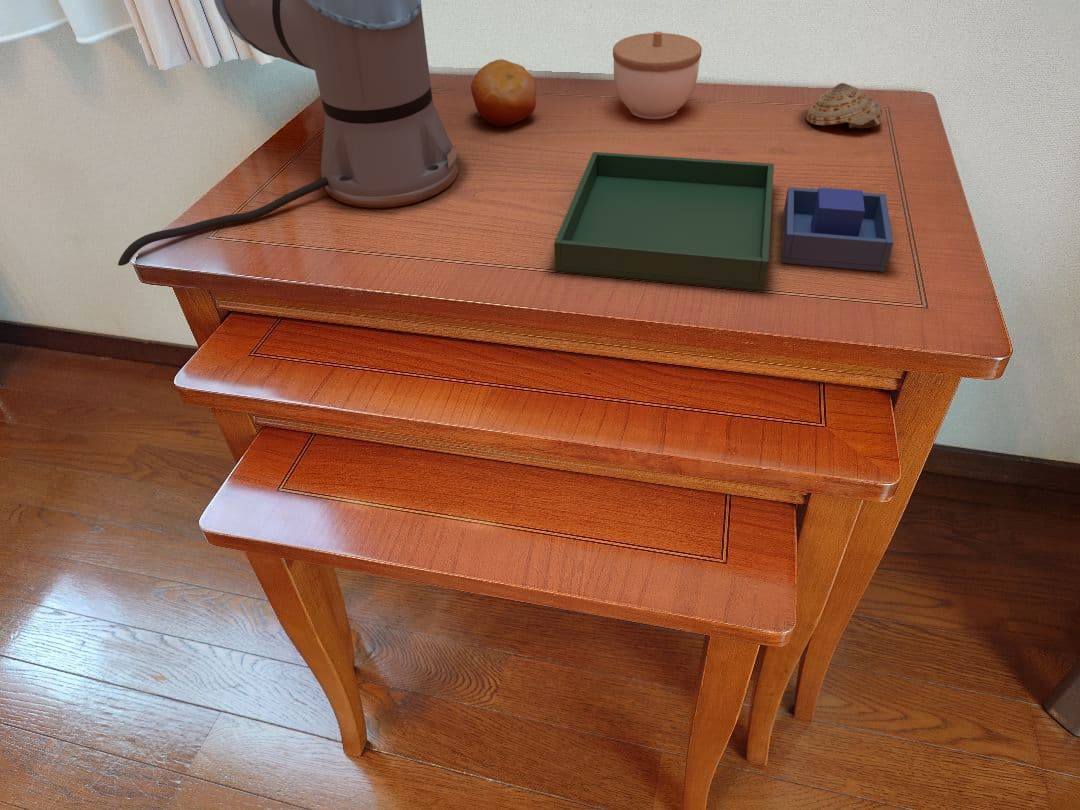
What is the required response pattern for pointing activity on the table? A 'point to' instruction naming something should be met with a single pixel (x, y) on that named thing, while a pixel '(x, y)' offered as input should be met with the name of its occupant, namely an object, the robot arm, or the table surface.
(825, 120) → the seashell
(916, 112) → the table surface
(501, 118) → the fruit
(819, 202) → the blue block
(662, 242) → the green tray
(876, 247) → the blue tray
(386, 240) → the table surface
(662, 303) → the table surface
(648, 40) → the trinket box
